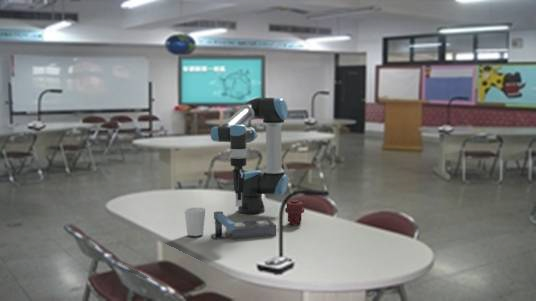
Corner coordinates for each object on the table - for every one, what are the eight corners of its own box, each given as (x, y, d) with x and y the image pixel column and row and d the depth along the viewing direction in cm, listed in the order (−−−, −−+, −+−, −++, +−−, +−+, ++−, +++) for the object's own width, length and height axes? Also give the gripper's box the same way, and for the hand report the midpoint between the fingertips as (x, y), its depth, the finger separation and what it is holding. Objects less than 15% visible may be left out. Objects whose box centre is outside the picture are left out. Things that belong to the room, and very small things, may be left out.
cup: (199, 239, 255) (199, 212, 254) (181, 237, 259) (180, 211, 257) (209, 233, 264) (208, 208, 263) (191, 231, 268) (190, 206, 266)
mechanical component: (305, 222, 286) (302, 227, 277) (286, 221, 288) (283, 226, 279) (305, 199, 285) (302, 203, 275) (286, 198, 287) (283, 202, 277)
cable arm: (212, 217, 259) (212, 211, 259) (221, 217, 260) (221, 211, 260) (227, 230, 236) (226, 224, 236) (236, 229, 238) (236, 223, 238)
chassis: (225, 232, 266) (225, 222, 265) (268, 229, 273) (268, 218, 272) (232, 239, 255) (231, 228, 254) (276, 235, 261) (276, 224, 261)
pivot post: (211, 235, 261) (210, 218, 260) (223, 234, 262) (223, 217, 261) (213, 239, 255) (213, 221, 254) (226, 238, 257) (226, 220, 256)
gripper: (227, 155, 262) (227, 203, 265) (234, 159, 250) (234, 209, 253) (242, 155, 264) (242, 202, 267) (249, 158, 252) (250, 208, 255)
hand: (238, 206), depth 260 cm, fingers closed
